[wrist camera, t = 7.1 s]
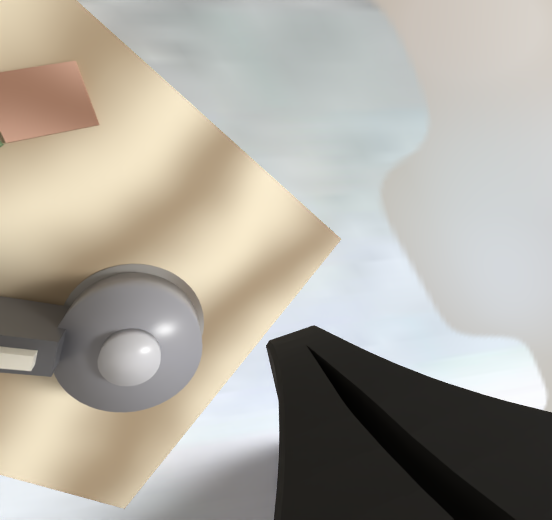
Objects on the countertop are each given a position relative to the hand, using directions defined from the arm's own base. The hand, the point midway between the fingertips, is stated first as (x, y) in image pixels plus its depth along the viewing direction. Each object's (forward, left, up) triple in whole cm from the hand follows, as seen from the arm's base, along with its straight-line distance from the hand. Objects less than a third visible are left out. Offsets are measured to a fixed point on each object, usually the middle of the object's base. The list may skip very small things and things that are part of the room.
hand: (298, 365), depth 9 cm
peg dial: (+5, +7, -9) cm, 12 cm away
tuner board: (+5, +5, -10) cm, 13 cm away
